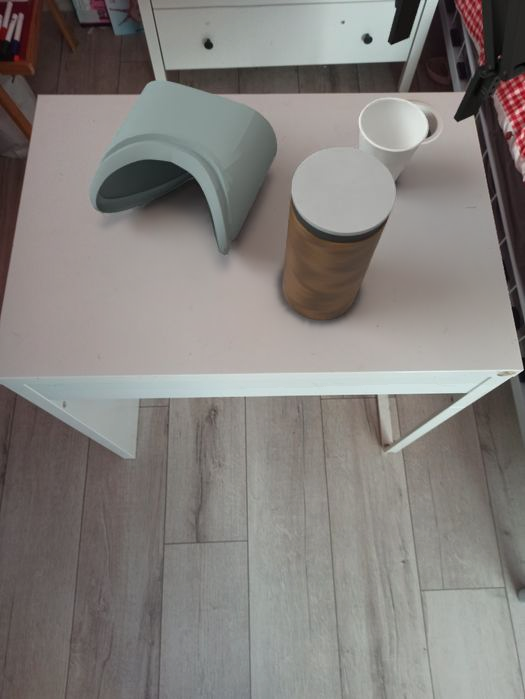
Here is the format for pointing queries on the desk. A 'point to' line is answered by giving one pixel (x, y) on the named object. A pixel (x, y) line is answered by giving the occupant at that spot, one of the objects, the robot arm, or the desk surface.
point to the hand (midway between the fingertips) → (430, 76)
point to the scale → (342, 194)
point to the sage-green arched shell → (187, 155)
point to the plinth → (323, 270)
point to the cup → (392, 131)
